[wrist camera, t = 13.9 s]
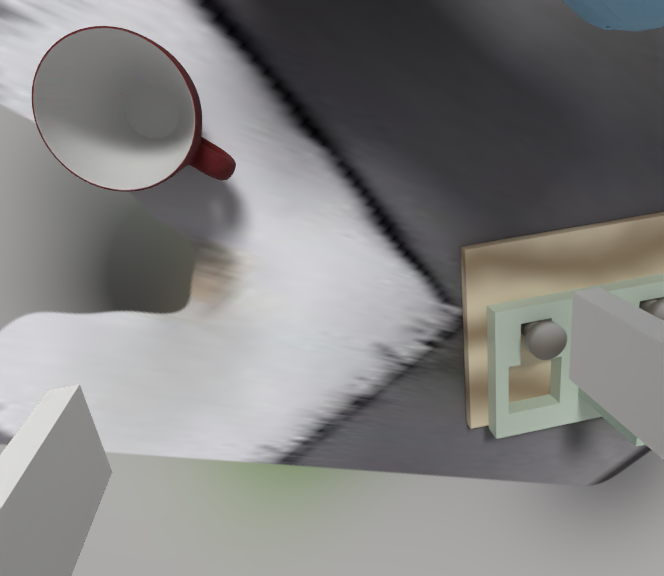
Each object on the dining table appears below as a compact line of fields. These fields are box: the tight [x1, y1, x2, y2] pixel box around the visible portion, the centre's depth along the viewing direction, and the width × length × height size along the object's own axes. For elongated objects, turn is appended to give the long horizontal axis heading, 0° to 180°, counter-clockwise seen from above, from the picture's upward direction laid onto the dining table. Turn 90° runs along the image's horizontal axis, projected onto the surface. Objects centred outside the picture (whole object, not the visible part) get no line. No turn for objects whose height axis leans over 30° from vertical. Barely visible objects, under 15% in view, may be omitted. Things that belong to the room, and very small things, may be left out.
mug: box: [32, 26, 236, 191], centre depth 30 cm, size 10×8×10 cm
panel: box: [487, 273, 664, 446], centre depth 41 cm, size 13×18×9 cm
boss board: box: [460, 212, 664, 429], centre depth 43 cm, size 18×22×5 cm
